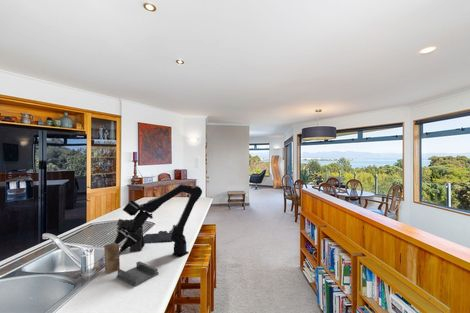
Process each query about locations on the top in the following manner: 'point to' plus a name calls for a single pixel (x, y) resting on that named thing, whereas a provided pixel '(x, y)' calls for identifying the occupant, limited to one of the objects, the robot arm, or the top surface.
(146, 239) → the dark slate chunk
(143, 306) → the top surface
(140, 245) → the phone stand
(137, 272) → the bottom track
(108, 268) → the walnut block
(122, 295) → the top surface
